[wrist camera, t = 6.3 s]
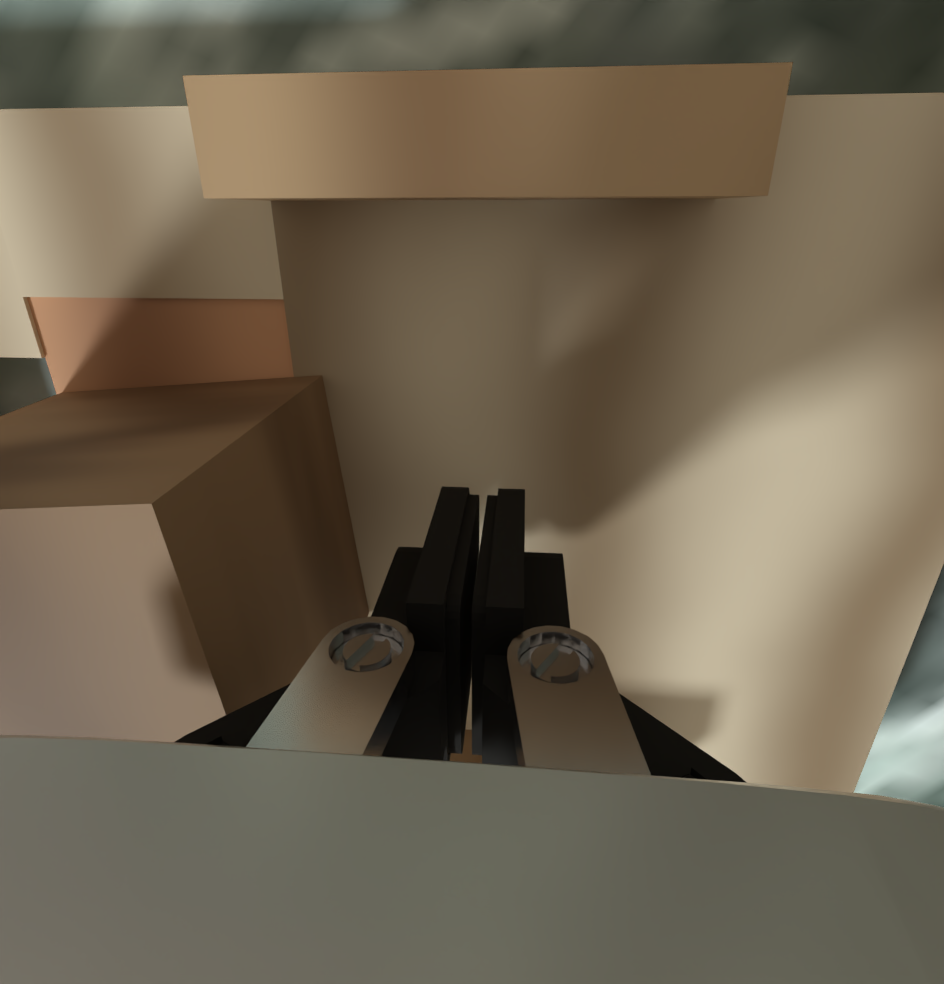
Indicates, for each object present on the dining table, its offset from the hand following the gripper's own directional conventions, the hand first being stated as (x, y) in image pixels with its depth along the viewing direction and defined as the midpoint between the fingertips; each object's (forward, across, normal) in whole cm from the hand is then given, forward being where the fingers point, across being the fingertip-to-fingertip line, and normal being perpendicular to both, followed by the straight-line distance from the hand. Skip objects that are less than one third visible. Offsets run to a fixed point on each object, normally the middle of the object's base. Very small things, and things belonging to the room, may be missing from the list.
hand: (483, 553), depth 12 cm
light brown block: (+2, +6, 0) cm, 6 cm away
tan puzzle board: (+4, +3, 0) cm, 5 cm away
